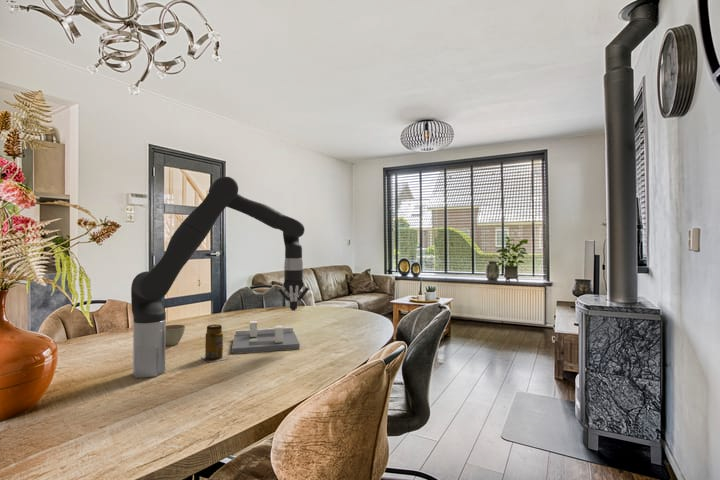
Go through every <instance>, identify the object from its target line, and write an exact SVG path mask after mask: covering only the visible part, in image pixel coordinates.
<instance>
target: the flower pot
mask: <svg viewBox="0 0 720 480" xmlns="http://www.w3.org/2000/svg"><path fill="white" fill-rule="evenodd" d="M185 328H186V326H185V325H184V324H168V325H167V324H166V335H165V346H175V345H178V344H179V343H180V342H181V340H182V339H183V336H184V334H185Z"/></svg>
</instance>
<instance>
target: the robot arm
mask: <svg viewBox="0 0 720 480" xmlns="http://www.w3.org/2000/svg"><path fill="white" fill-rule="evenodd" d="M226 208H229V209H232V210H234V211H237V212H240V213H242V214H245V215H247V216H248V217H251V218H252V219H255V220H256V221H259V222H260V223H263V224H265V225H266V226H268V227H270V228H272V229H276V230H279V231H281V232H282V236H283V237H282V238H283V242H284V249H285V251H284V264H283V265H284V267H283V268H284V269H283V270H284V276H283V277H284V279H283V284H282V286H281V287H279V288H278V292H279V293H280V294H281V295H282V297H283V298H284V300H286V301H287V302H288V301H289V309H290V310H291V311H292V312H293V311H296V310H297V308H298V301H301V300H303V298H304V297H305V296H306V294H307V293H308V291H309V287H307V286H305V284H304V279H303V278H304V277H303V276H304V275H303V273H304V272H303V271H304V269H303V247H302V245H301V244H300V238H301V237H302V236H303V235H304V234H305V226H304V224H303V223H302V222H301V221H300V220H297V219H295V218H294V217H290V216H288V215H285V214H283V213H282V212H280V211H279V210H276V209H275V208H273V207H271V206H269V205H267V204H265V203H262V202H257V201H255V200H252V199H249V198H247V197H244V196H242V195H241V194H240V193H239V186H238V182H237V181H236V180H235V179H234V178H232V177H230V176H221V177H219V178H217V179H216V180H214V181H213V183H212V184H211V185H210V187H209V189H208V193H207V195H206V196H205V197H204V199H203V200H202V202H201V203H200V204H199V205H198V206H197V207H196V208H194V210H192V212H191V213H189V214H188V216H187V217H186V218H185V219H184V220H183V221H182V222H181V224H180V225H178V227H177V229H176V230H175V231H174V232H173V234H172V236H171V238H170V239H169V242H168V245H167V247H166V249H165V252H164V254H163V256H162V257H161V259H160V260H159V261H158V262H157V264H156V265H154V267H153V268H152V269H151V270H150V271H142V272H140V273H138V274H137V275H136V276H135V277H134V278H133V280H132V282H131V288H130V291H131V292H130V294H131V295H130V296H131V297H130V298H131V313H132V317H133V331H132V332H133V337H132V338H133V342H132V344H133V347H132V349H133V352H132V354H133V355H132V357H133V358H132V359H133V361H132V363H133V364H132V366H133V367H132V371H133V373H132V376H134V378H135V379H141V378H153V377H157V376H159V375H161V374H163V373H165V371H166V345H165V335H166V325H167V321H166V318H167V316H166V315H167V313H166V310H165V308H164V305H163V299H162V298H164V297H165V296H166V295H167V294H168V292H169V290H170V289H171V287H172V286H173V284H174V283H175V281H176V279H177V277H178V275H179V274H180V273H181V271H182V270H183V268H184V267H185V265H186V264H187V263H188V262H189V260H190V259H191V258H192V256H193V255H194V253H195V252H196V251H197V249H198V248H199V247H200V246H201V244H202V243H203V242H204V241H205V239H206V237H207V236H208V234H209V233H210V232H211V230H212V228H213V227H214V225H215V223H216V222H217V220H218V219H219V216H220V215H221V214H222V212H223V211H224V210H225V209H226ZM285 291H286V292H287V293H288V295H289V297H288V295H287V294H286V293H285ZM300 291H301V293H300ZM299 293H300V294H299Z"/></svg>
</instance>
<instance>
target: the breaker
mask: <svg viewBox="0 0 720 480" xmlns="http://www.w3.org/2000/svg"><path fill="white" fill-rule="evenodd" d="M249 329H250V337H257V329H258V321H257V320H250V321H249Z"/></svg>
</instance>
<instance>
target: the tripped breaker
mask: <svg viewBox="0 0 720 480" xmlns="http://www.w3.org/2000/svg"><path fill="white" fill-rule="evenodd" d="M274 328H275V343H279V342H283V325H282V324H281V325H274Z"/></svg>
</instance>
